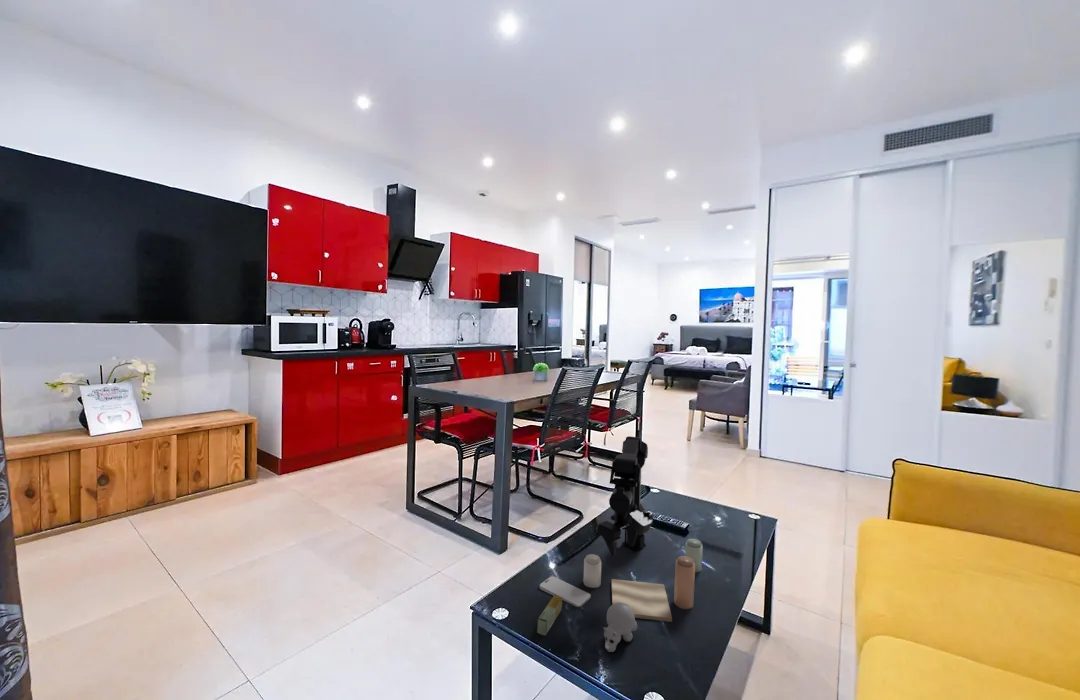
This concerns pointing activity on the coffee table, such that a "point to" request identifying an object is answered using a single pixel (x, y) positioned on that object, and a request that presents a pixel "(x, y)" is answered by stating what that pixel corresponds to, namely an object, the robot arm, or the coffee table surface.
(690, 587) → the terracotta jar
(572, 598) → the smartphone
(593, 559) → the cream jar
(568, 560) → the coffee table surface
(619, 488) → the robot arm
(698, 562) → the sage jar
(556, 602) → the medication box
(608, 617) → the chubby cartoon animal
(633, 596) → the beige cloth
